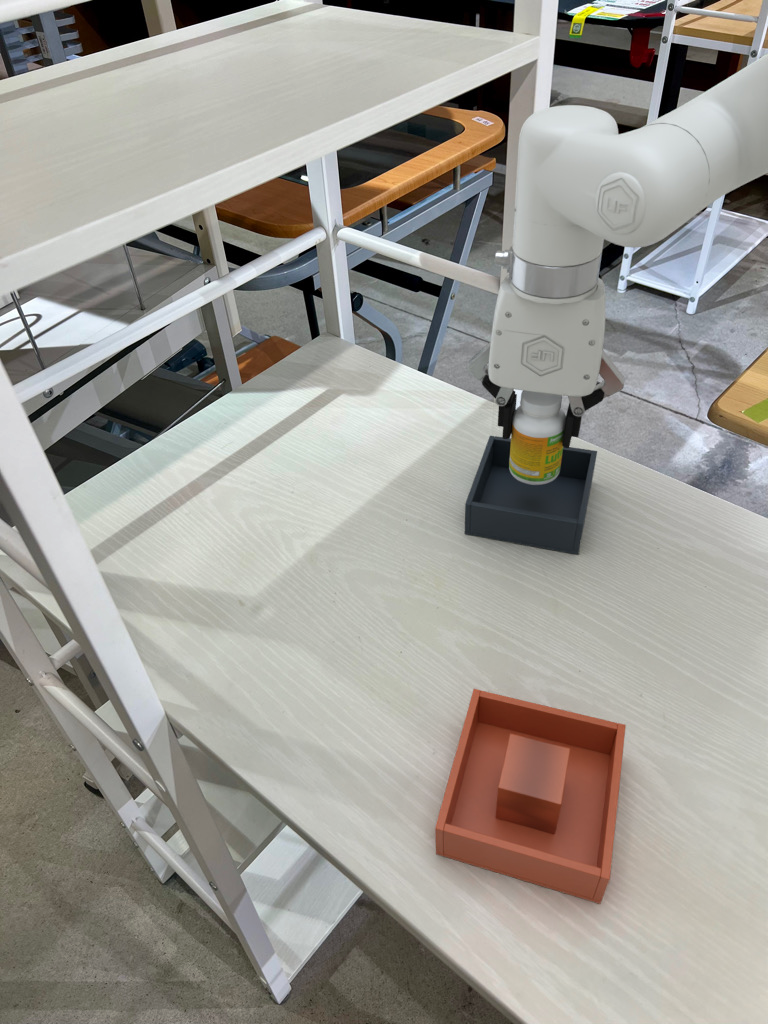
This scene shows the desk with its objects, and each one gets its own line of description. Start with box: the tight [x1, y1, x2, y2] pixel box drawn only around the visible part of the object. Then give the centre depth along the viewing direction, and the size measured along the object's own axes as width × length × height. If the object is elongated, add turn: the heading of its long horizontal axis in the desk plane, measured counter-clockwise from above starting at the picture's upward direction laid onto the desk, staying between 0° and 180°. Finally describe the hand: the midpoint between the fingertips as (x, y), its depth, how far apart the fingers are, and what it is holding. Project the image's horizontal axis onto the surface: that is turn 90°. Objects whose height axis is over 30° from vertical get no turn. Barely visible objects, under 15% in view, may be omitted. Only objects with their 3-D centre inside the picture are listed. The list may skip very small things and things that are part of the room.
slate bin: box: [464, 435, 598, 556], centre depth 82 cm, size 12×12×4 cm
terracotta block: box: [495, 734, 570, 834], centre depth 57 cm, size 5×5×5 cm
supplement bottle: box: [509, 390, 566, 485], centre depth 77 cm, size 5×5×10 cm
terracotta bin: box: [434, 688, 627, 905], centre depth 58 cm, size 12×12×4 cm
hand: (537, 434), depth 77 cm, fingers closed on supplement bottle, 5 cm apart
